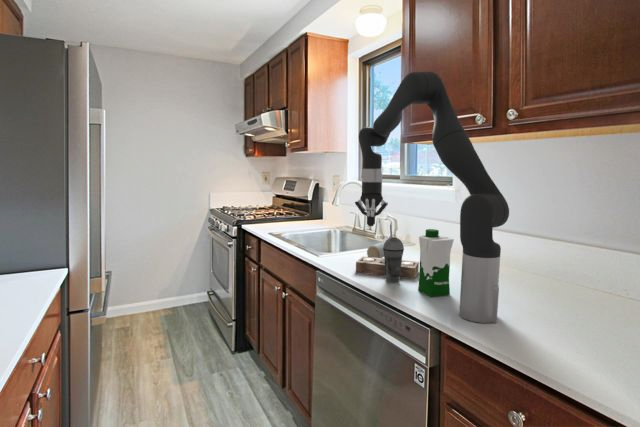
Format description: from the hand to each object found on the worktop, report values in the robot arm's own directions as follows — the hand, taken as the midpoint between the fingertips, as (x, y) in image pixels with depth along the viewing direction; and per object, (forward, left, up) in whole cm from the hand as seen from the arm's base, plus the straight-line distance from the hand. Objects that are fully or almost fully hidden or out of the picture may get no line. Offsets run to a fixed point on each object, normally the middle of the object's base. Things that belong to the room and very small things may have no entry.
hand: (371, 226), depth 148 cm
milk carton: (-26, +18, -18) cm, 36 cm away
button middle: (-7, 0, -15) cm, 16 cm away
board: (-7, 0, -17) cm, 19 cm away
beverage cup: (-11, +11, -18) cm, 23 cm away
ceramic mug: (-1, -15, -18) cm, 23 cm away
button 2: (-14, 0, -16) cm, 22 cm away
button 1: (+1, 0, -16) cm, 16 cm away
